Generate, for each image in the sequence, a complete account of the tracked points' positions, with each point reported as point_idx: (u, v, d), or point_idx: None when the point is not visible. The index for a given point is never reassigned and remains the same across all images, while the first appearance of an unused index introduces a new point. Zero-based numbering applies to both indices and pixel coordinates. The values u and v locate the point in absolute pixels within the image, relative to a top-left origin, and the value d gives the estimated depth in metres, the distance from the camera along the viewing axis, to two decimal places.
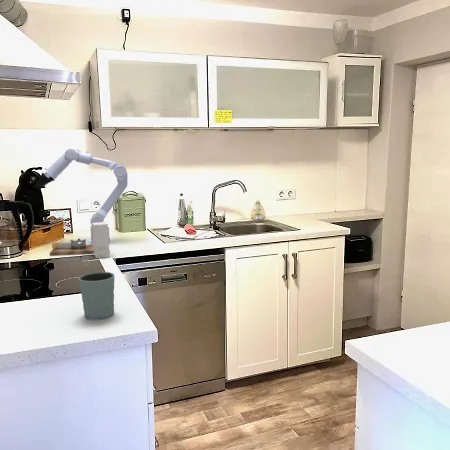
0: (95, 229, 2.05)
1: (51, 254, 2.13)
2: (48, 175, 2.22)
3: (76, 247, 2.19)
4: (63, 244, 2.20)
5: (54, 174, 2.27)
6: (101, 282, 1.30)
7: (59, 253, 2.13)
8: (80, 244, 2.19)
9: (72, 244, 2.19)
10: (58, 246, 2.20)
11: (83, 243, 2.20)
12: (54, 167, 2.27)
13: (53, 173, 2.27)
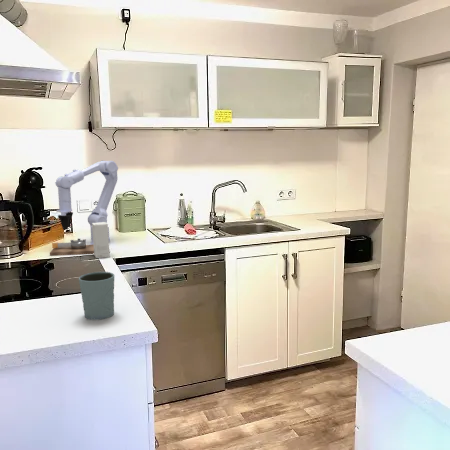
0: (95, 229, 2.05)
1: (51, 254, 2.13)
2: (63, 213, 2.18)
3: (76, 247, 2.19)
4: (63, 244, 2.20)
5: (67, 208, 2.22)
6: (101, 282, 1.30)
7: (59, 253, 2.13)
8: (80, 244, 2.19)
9: (72, 244, 2.19)
10: (58, 246, 2.20)
11: (83, 243, 2.20)
12: (62, 203, 2.21)
13: (66, 208, 2.22)
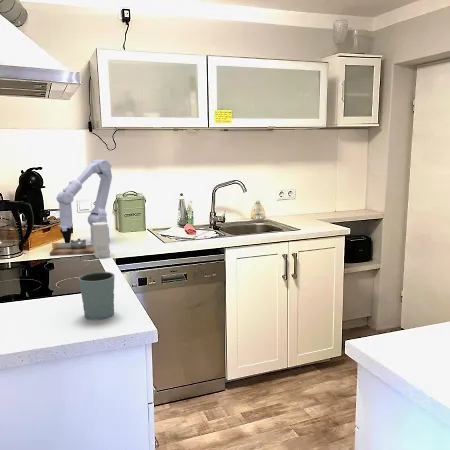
0: (95, 229, 2.05)
1: (51, 254, 2.13)
2: (64, 228, 2.19)
3: (76, 247, 2.19)
4: (63, 244, 2.20)
5: (68, 223, 2.24)
6: (101, 282, 1.30)
7: (59, 253, 2.13)
8: (80, 244, 2.19)
9: (72, 244, 2.19)
10: (58, 246, 2.20)
11: (83, 243, 2.20)
12: (63, 218, 2.23)
13: (67, 223, 2.23)
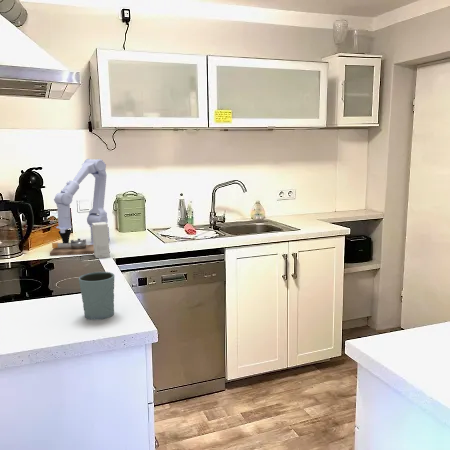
0: (95, 229, 2.05)
1: (51, 254, 2.13)
2: (63, 230, 2.14)
3: (76, 247, 2.19)
4: (63, 244, 2.20)
5: (67, 225, 2.19)
6: (101, 282, 1.30)
7: (59, 253, 2.13)
8: (80, 244, 2.19)
9: (72, 244, 2.19)
10: (58, 246, 2.20)
11: (83, 243, 2.20)
12: (61, 220, 2.18)
13: (65, 225, 2.19)
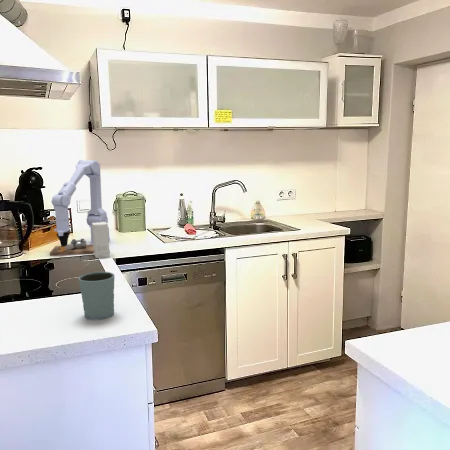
0: (95, 229, 2.05)
1: (51, 254, 2.13)
2: (61, 233, 2.09)
3: (83, 246, 2.20)
4: (69, 246, 2.16)
5: (65, 227, 2.13)
6: (101, 282, 1.30)
7: (59, 253, 2.13)
8: (85, 243, 2.22)
9: (78, 244, 2.19)
10: (65, 249, 2.14)
11: (85, 242, 2.23)
12: (59, 222, 2.12)
13: (63, 227, 2.13)
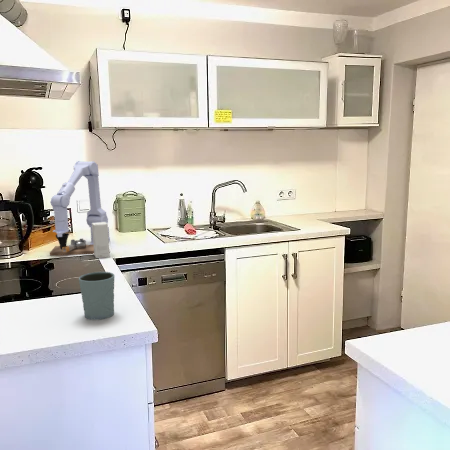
0: (95, 229, 2.05)
1: (51, 254, 2.13)
2: (60, 234, 2.05)
3: (84, 246, 2.21)
4: (72, 246, 2.15)
5: (64, 228, 2.10)
6: (101, 282, 1.30)
7: (59, 253, 2.13)
8: (85, 243, 2.23)
9: (80, 244, 2.19)
10: (69, 249, 2.13)
11: None
12: (58, 223, 2.09)
13: (62, 228, 2.09)
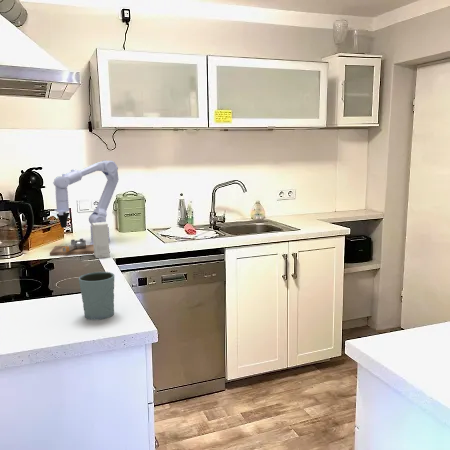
0: (95, 229, 2.05)
1: (51, 254, 2.13)
2: (61, 212, 2.20)
3: (84, 246, 2.21)
4: (71, 246, 2.15)
5: (65, 208, 2.25)
6: (101, 282, 1.30)
7: (59, 253, 2.13)
8: (85, 243, 2.23)
9: (80, 244, 2.19)
10: (69, 249, 2.13)
11: None
12: (59, 203, 2.24)
13: (63, 208, 2.24)
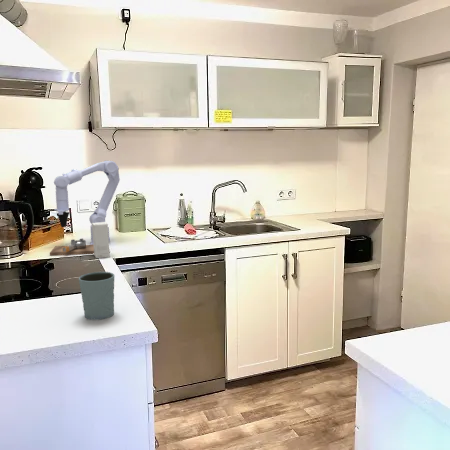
0: (95, 229, 2.05)
1: (51, 254, 2.13)
2: (61, 212, 2.22)
3: (84, 246, 2.21)
4: (71, 246, 2.15)
5: (64, 207, 2.26)
6: (101, 282, 1.30)
7: (59, 253, 2.13)
8: (85, 243, 2.23)
9: (80, 244, 2.19)
10: (69, 249, 2.13)
11: None
12: (59, 202, 2.25)
13: (63, 207, 2.26)
